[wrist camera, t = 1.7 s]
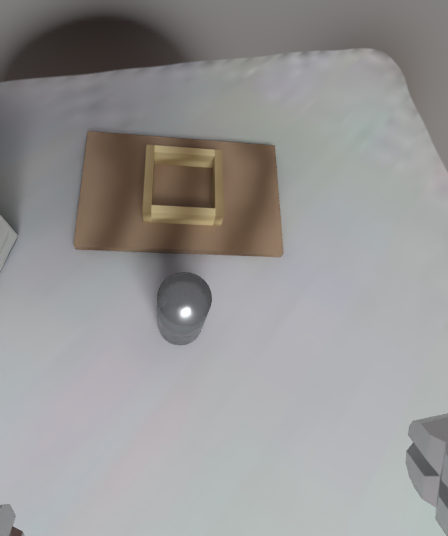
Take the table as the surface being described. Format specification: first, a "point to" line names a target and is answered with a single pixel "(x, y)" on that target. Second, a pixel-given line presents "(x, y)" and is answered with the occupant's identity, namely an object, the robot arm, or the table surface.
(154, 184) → the collar board
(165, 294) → the cylinder
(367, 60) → the table surface
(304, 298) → the table surface
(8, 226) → the skincare box
